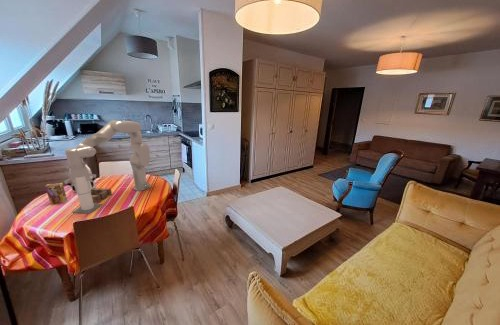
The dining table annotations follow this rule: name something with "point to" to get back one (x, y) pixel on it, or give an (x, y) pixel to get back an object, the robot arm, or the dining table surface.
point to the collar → (100, 194)
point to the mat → (87, 210)
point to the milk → (88, 180)
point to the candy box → (56, 193)
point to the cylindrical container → (84, 193)
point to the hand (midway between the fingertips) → (83, 188)
